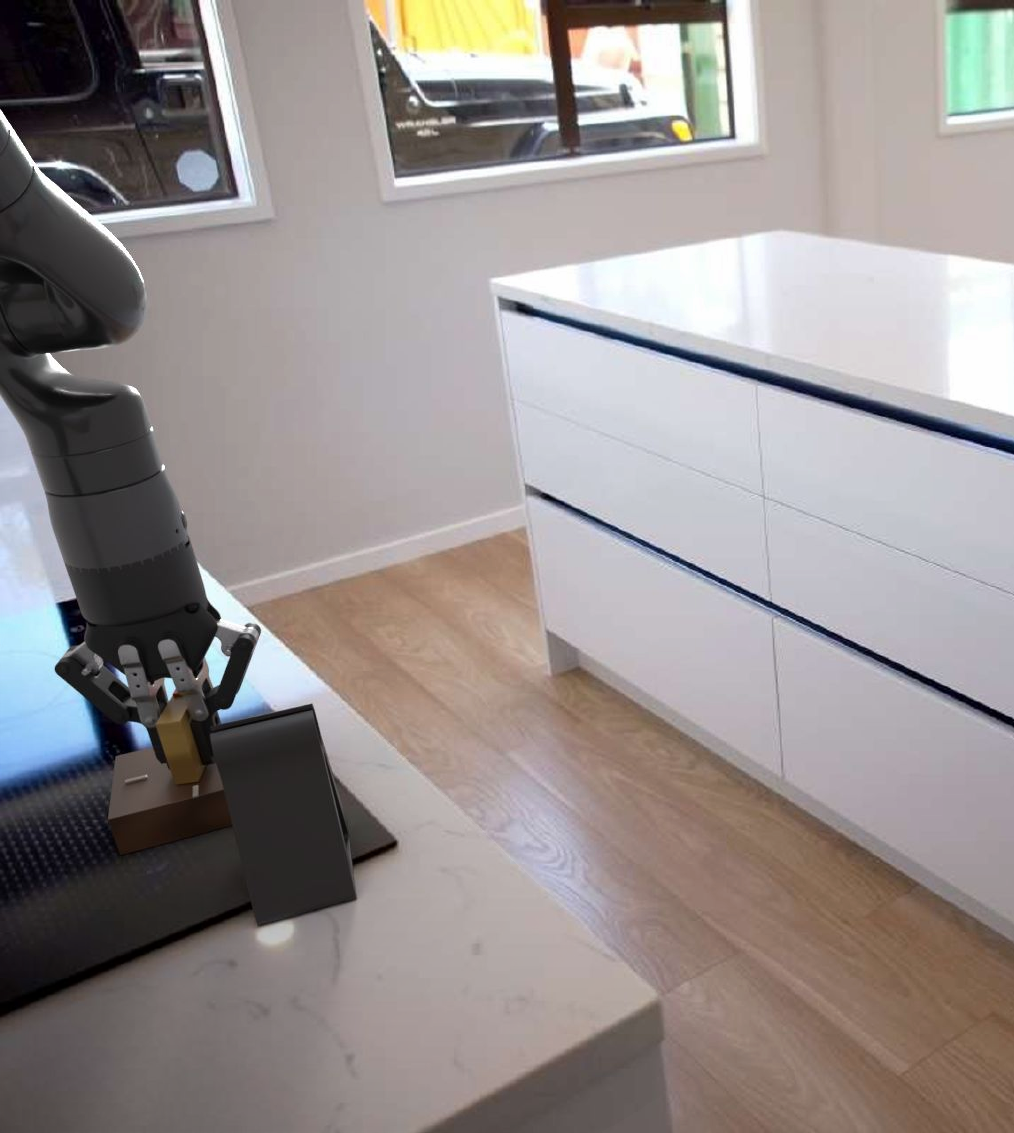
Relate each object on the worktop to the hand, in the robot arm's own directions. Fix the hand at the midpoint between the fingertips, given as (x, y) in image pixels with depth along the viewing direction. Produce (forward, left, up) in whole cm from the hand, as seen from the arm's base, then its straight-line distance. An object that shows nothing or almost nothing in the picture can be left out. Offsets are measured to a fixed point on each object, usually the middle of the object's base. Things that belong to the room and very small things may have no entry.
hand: (195, 760), depth 93 cm
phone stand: (+6, -13, -4) cm, 15 cm away
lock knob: (0, 0, 0) cm, 0 cm away
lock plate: (0, 0, -3) cm, 3 cm away
